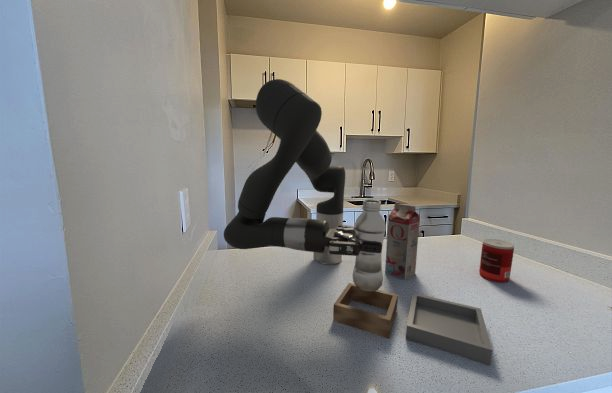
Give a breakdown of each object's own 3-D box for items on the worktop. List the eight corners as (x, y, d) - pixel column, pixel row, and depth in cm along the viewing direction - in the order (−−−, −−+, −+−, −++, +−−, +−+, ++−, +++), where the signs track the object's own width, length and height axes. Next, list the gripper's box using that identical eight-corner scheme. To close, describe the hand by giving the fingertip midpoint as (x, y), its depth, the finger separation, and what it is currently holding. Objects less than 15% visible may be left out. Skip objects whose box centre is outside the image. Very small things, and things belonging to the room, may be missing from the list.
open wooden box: (333, 320, 57) (333, 304, 56) (348, 297, 66) (349, 282, 66) (389, 338, 51) (390, 320, 51) (396, 310, 61) (398, 294, 60)
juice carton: (404, 279, 76) (410, 207, 73) (384, 272, 81) (389, 204, 78) (415, 273, 80) (420, 204, 77) (395, 266, 85) (400, 201, 82)
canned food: (505, 274, 81) (509, 240, 79) (513, 285, 74) (518, 249, 72) (476, 269, 84) (480, 237, 82) (481, 279, 77) (485, 244, 75)
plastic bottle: (383, 297, 54) (390, 205, 51) (351, 293, 56) (355, 203, 52) (381, 282, 60) (387, 199, 57) (352, 279, 62) (356, 197, 58)
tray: (405, 339, 51) (406, 325, 51) (412, 304, 64) (413, 292, 63) (490, 365, 45) (492, 350, 44) (479, 320, 57) (480, 308, 57)
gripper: (313, 240, 67) (379, 247, 63) (297, 262, 54) (380, 273, 49) (314, 212, 66) (382, 217, 62) (298, 228, 52) (383, 236, 48)
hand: (381, 242), depth 55 cm, fingers closed on plastic bottle, 6 cm apart
